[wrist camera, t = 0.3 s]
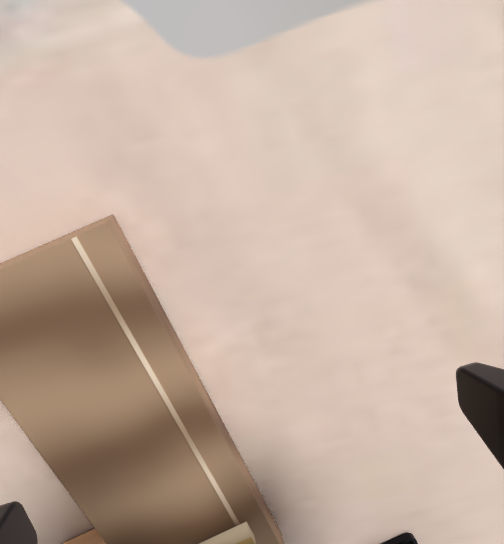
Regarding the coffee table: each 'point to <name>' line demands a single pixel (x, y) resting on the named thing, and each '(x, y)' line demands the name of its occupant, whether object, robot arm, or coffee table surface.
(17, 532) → the robot arm
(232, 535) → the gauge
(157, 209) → the coffee table surface
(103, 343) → the board
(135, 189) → the coffee table surface
